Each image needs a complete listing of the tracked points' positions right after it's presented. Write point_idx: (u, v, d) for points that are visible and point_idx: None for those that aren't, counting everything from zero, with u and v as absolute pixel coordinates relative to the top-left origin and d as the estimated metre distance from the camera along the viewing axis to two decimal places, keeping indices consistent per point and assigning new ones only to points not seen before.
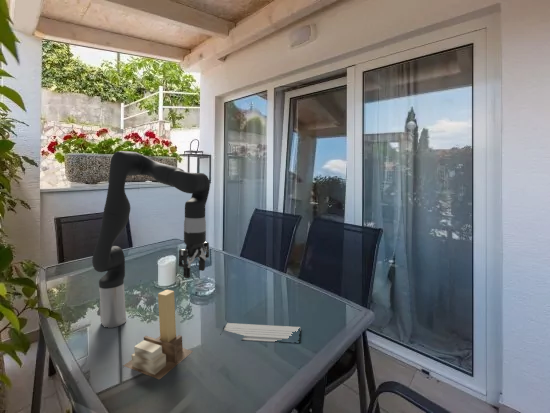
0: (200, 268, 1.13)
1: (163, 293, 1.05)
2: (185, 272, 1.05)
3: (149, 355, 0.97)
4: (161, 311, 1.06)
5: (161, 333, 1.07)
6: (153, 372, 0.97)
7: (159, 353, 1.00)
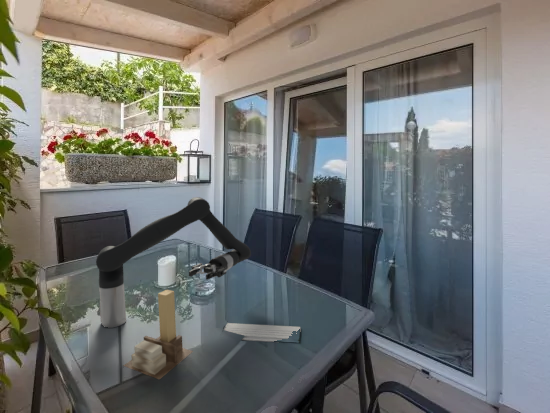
0: (191, 272, 1.24)
1: (163, 293, 1.05)
2: (212, 276, 1.22)
3: (149, 355, 0.97)
4: (161, 311, 1.06)
5: (161, 333, 1.07)
6: (153, 372, 0.97)
7: (159, 353, 1.00)
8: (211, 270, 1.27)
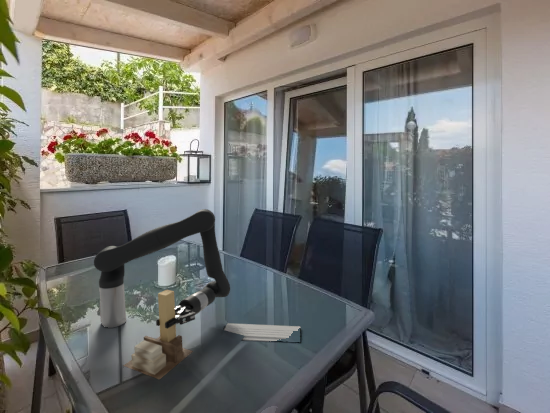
0: (159, 321, 1.06)
1: (163, 293, 1.05)
2: (172, 324, 1.06)
3: (149, 355, 0.97)
4: (161, 311, 1.06)
5: (161, 333, 1.07)
6: (153, 372, 0.97)
7: (159, 353, 1.00)
8: None
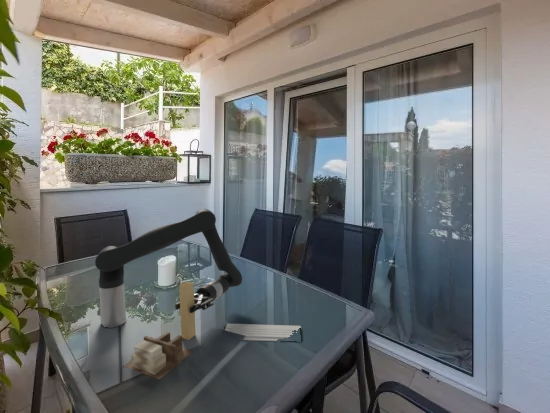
0: (178, 305, 1.17)
1: (184, 284, 1.15)
2: (196, 309, 1.15)
3: (149, 355, 0.97)
4: (182, 301, 1.15)
5: (182, 321, 1.16)
6: (153, 372, 0.97)
7: (159, 353, 1.00)
8: (197, 301, 1.20)
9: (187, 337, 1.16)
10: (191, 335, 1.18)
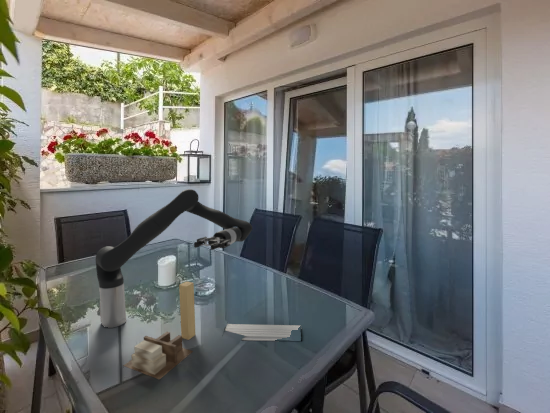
0: (196, 244, 1.29)
1: (184, 284, 1.15)
2: (216, 246, 1.27)
3: (149, 355, 0.97)
4: (182, 301, 1.15)
5: (182, 321, 1.16)
6: (153, 372, 0.97)
7: (159, 353, 1.00)
8: (215, 242, 1.32)
9: (187, 337, 1.16)
10: (191, 335, 1.18)
